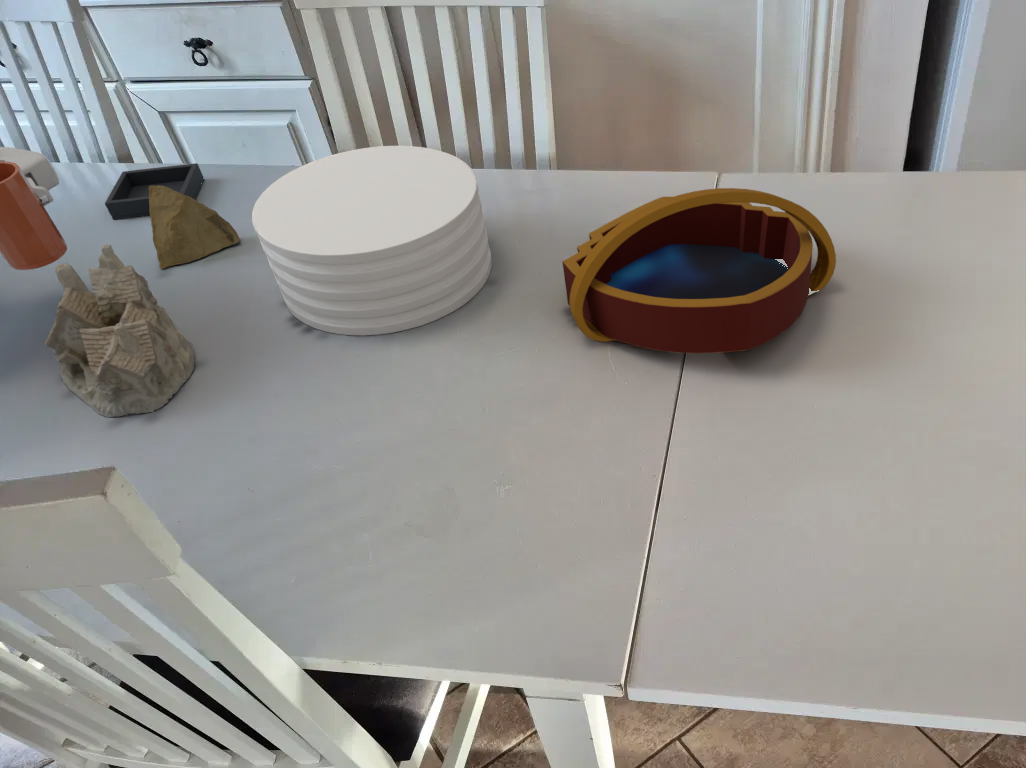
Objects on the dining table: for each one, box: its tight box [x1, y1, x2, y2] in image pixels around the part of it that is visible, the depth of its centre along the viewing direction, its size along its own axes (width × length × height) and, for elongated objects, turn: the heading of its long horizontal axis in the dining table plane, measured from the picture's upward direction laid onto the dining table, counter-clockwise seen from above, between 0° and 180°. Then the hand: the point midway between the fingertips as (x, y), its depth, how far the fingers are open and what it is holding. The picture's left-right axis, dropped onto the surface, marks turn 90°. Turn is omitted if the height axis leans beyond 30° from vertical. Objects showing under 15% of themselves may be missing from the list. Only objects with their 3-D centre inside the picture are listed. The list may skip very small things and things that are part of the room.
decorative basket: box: [561, 187, 837, 354], centre depth 101 cm, size 34×29×15 cm
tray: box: [104, 162, 205, 221], centre depth 131 cm, size 12×11×3 cm
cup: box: [0, 161, 68, 271], centre depth 96 cm, size 6×6×10 cm
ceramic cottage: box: [44, 243, 196, 418], centre depth 96 cm, size 16×16×15 cm
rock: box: [149, 185, 241, 270], centre depth 118 cm, size 11×9×10 cm
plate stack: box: [251, 145, 493, 336], centre depth 110 cm, size 28×28×12 cm
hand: (18, 213), depth 95 cm, fingers closed on cup, 6 cm apart
